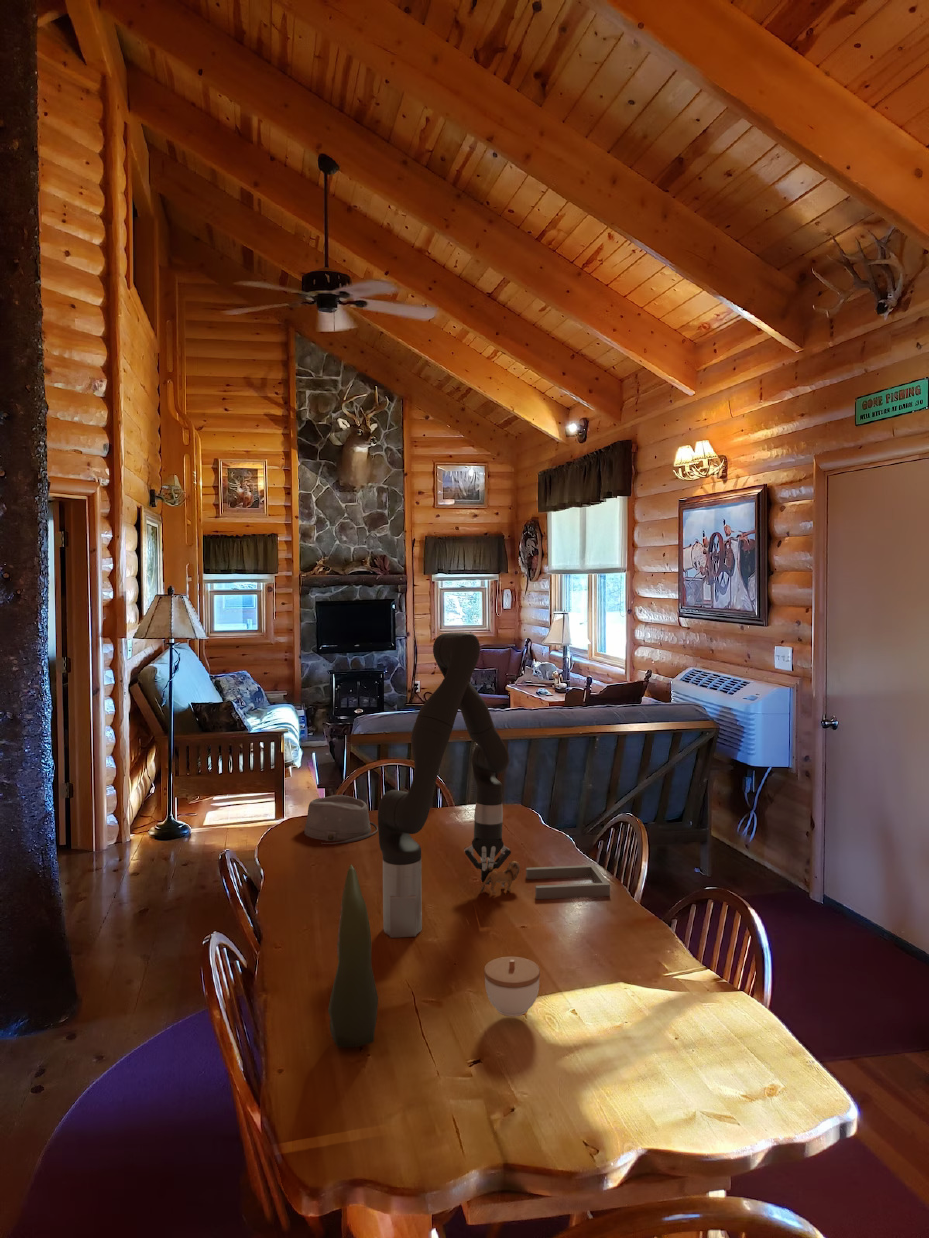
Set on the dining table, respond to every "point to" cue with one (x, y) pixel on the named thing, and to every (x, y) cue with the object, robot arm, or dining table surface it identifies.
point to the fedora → (338, 819)
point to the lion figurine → (502, 876)
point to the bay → (569, 890)
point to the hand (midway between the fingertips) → (486, 883)
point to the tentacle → (353, 972)
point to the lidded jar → (512, 984)
